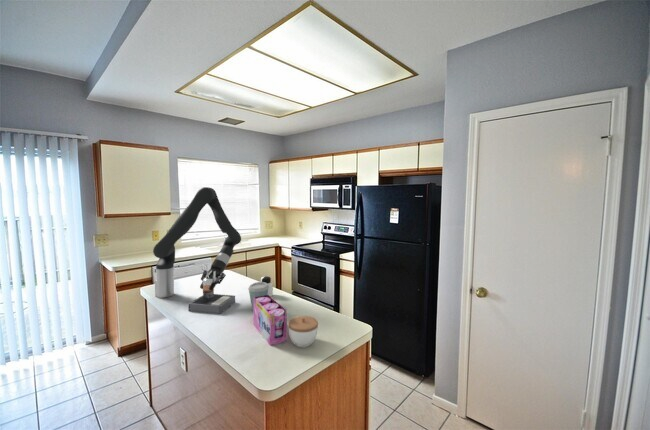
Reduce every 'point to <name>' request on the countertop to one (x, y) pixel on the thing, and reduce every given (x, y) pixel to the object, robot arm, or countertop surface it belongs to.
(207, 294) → the silver lidded jar
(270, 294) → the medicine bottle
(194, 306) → the tote
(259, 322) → the gum box
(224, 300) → the cream rectangular block
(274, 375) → the countertop surface
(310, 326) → the lidded bowl
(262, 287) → the disposable coffee cup
